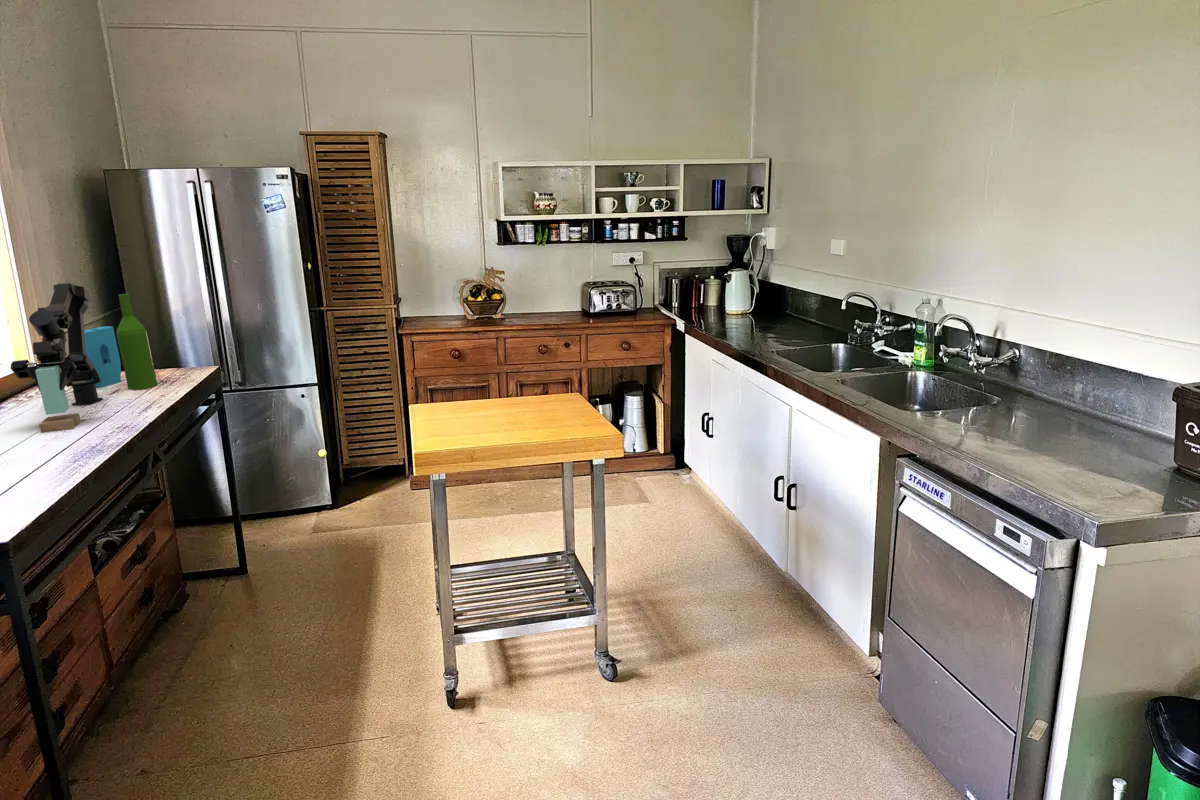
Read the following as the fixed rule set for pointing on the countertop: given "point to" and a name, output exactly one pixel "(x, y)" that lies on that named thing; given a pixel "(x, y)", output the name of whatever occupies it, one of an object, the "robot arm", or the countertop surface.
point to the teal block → (52, 390)
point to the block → (103, 355)
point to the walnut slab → (60, 423)
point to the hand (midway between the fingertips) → (51, 390)
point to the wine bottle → (134, 349)
